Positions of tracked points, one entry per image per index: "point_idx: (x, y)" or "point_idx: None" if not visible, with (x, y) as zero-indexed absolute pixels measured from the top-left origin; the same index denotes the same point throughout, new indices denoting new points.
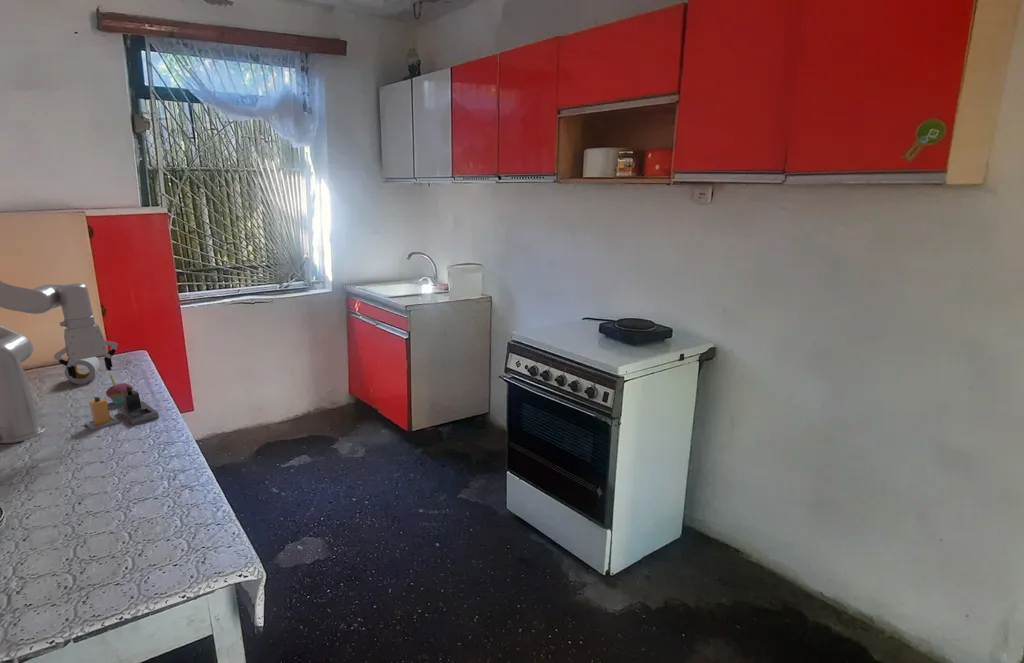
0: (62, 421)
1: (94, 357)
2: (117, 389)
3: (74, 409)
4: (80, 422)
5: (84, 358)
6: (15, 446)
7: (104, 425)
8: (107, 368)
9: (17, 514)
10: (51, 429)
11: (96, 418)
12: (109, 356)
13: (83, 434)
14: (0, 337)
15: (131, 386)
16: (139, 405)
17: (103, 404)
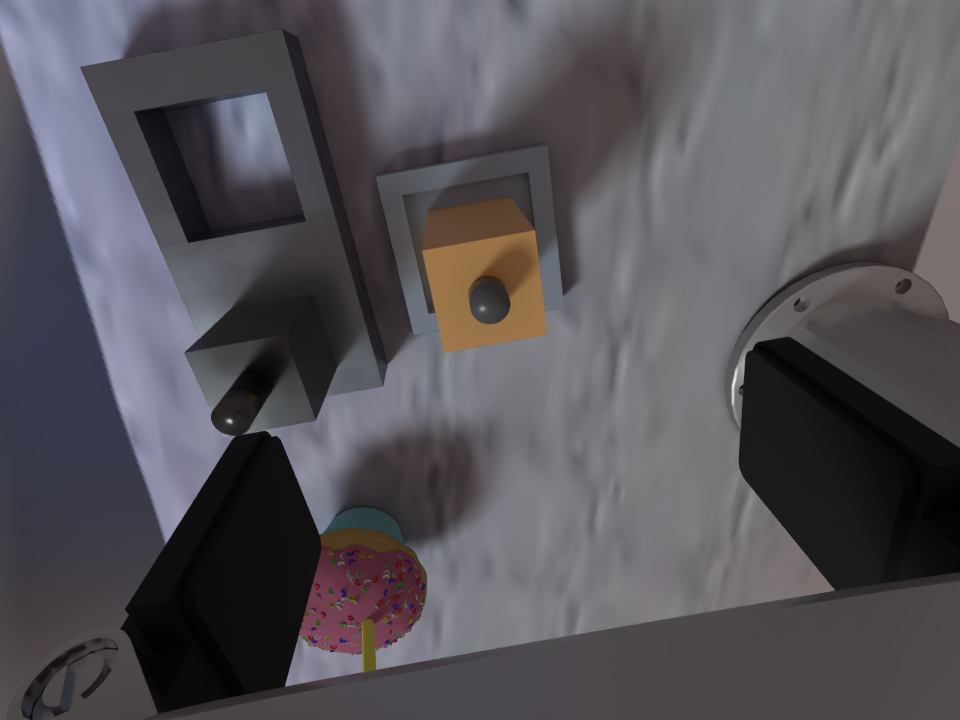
0: (642, 444)
1: None
2: (357, 577)
3: (570, 570)
4: (574, 371)
5: (773, 606)
6: (904, 209)
7: (468, 158)
8: (290, 494)
9: None
10: (707, 360)
11: (509, 207)
12: (75, 690)
13: (591, 135)
14: None
15: None
16: (236, 311)
17: (449, 238)
